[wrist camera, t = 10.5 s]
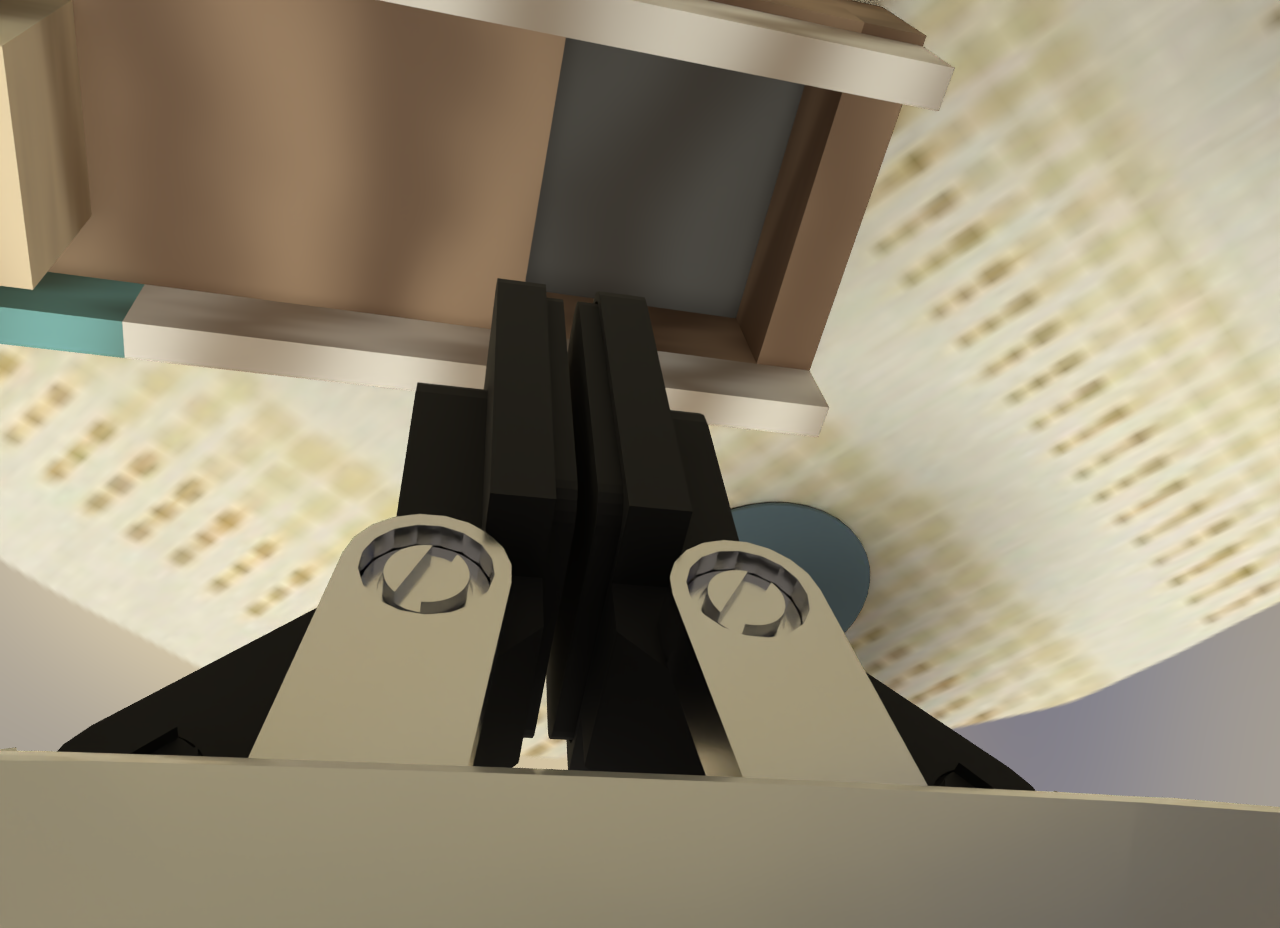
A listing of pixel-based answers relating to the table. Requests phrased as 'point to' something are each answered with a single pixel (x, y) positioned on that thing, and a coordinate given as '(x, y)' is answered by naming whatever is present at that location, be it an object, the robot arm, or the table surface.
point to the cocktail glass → (812, 550)
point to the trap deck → (475, 183)
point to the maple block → (39, 139)
